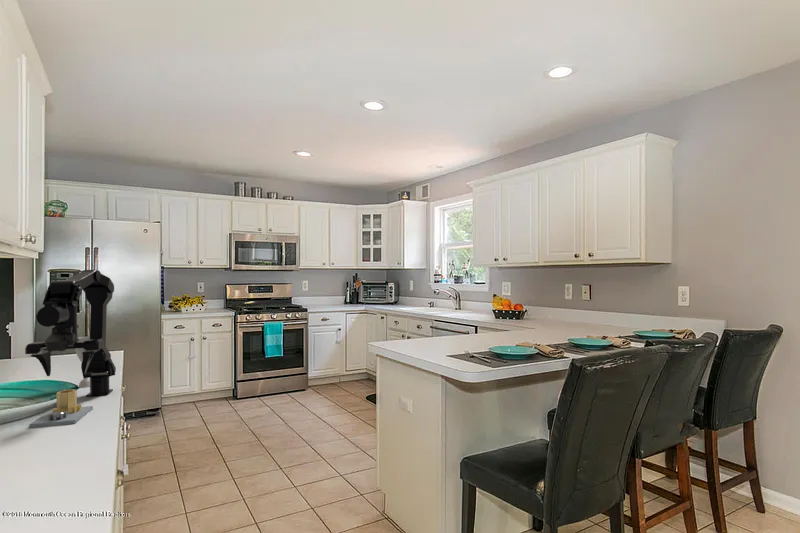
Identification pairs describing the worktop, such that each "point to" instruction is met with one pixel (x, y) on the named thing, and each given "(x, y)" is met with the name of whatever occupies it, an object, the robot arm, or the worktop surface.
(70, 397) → the planet gear
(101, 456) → the worktop surface
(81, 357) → the chalice
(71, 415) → the plate
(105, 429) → the worktop surface
